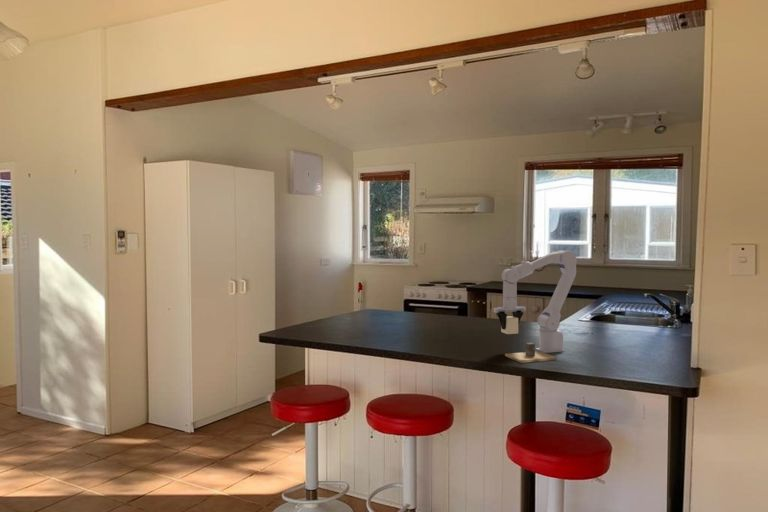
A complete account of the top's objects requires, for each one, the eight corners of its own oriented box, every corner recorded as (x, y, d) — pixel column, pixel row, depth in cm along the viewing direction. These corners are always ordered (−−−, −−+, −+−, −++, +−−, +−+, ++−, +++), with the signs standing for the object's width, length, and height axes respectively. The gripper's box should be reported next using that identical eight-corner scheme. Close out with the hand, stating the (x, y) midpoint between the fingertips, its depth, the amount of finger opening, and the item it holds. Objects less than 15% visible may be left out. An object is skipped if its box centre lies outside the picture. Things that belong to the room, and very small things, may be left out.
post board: (539, 353, 230) (539, 339, 229) (555, 359, 218) (556, 345, 218) (505, 356, 225) (505, 341, 225) (520, 362, 214) (520, 347, 213)
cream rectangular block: (511, 331, 236) (512, 316, 236) (518, 333, 231) (518, 317, 231) (501, 332, 235) (501, 316, 235) (507, 334, 230) (507, 318, 230)
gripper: (519, 295, 238) (519, 326, 239) (490, 296, 234) (489, 328, 235) (528, 297, 232) (528, 328, 232) (498, 298, 227) (497, 330, 228)
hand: (509, 328), depth 233 cm, fingers closed on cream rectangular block, 5 cm apart
